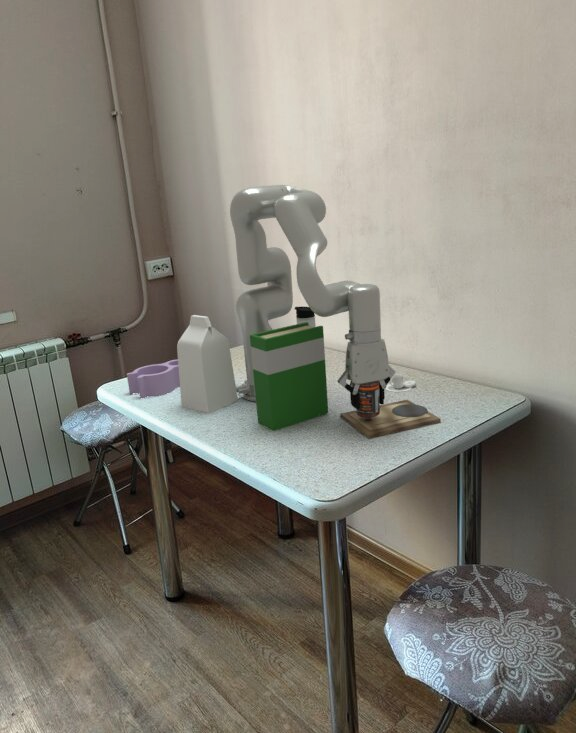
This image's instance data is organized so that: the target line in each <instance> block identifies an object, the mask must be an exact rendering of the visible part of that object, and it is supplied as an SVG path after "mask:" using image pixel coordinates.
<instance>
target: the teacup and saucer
mask: <svg viewBox="0 0 576 733" xmlns="http://www.w3.org/2000/svg"><path fill="white" fill-rule="evenodd" d="M391 379H392V383H391V380H390V381H389V383H388V384H387V385H386V388H385V389H384V390H386V391H389V392H394V393H403V392H404V393H405V392H407V391H410V390H412V389H413V388H414V387H415V386H416V385H417V382H416V381H415V380H406V381H404V375H403V374H400V373H397V374H396V373H395V374H394V375H393V377H392V378H391ZM389 387H393V388H394V389H397V390H393V389H390V388H389ZM403 387H404V388H405V389H403ZM398 389H399V390H398ZM401 389H403V390H401Z"/></svg>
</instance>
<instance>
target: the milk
mask: <svg viewBox="0 0 576 733" xmlns="http://www.w3.org/2000/svg"><path fill="white" fill-rule="evenodd" d="M189 319H190V320H189V325H188V327H186V329H185V330H184V332H183V333H182V335H181V336H180V338H179V340H178V341H177V345H176V352H177V359H178V366H179V379H180V387H179V390H180V392H179V393H180V404H181V405H182V407H186V408H189V409H192V410H196V411H200V412H203V413H205V414H206V413H207V414H210V413H213V412H215V411H217V410H220V409H223V408H225V407H227V406H229V405H232V404H234V403H236V402H238V401H239V397H238V392H237V391H236V386H237V384H236V380H235V379H236V377H235V371H234V366H233V361H232V360H233V359H232V352H231V348H230V343H229V339H228V338H227V337H226V336H225V335H224V334H222V333H221V332H219V331H218V330H217V329H216V328H215V327H213V326H212V322H211V321H210V318H209V316H205V315H197V314H193V315H190V318H189Z"/></svg>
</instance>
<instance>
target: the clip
mask: <svg viewBox="0 0 576 733" xmlns="http://www.w3.org/2000/svg"><path fill="white" fill-rule="evenodd" d="M126 378H127V384H128V390H129V395H130V394H133V393H140V394H139V396H140V398H144V399H146V398H148V397H147V396H154V397H159V395H160V396H163V395H167V393H168V394H170V393H173V392H174V391H175V390H176V389H177V388H180V379H179V366H178V358H177V359H172V360H169V361H166V362H163V363H158V364H157V363H155V364H149V365H148V364H147V365H145V366H141V367H138V368H135V369H134V370H133V371H132V372H128V373H126ZM145 397H146V398H145Z"/></svg>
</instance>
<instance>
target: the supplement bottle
mask: <svg viewBox="0 0 576 733" xmlns="http://www.w3.org/2000/svg"><path fill="white" fill-rule="evenodd" d="M357 393H358V394H359V398H360V409H356V408H355V410H356V413H357V415H358V416H360V417H364V418H372V417H375V416H377V415H379V413H380V405H381V404H380V397H379V381H375V382H370V383H365V384H360V385H359V388H358V392H357Z"/></svg>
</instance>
